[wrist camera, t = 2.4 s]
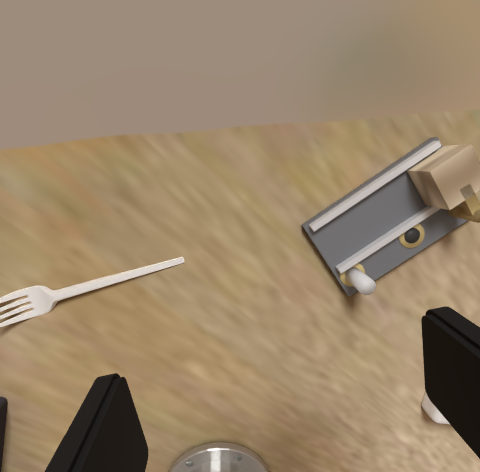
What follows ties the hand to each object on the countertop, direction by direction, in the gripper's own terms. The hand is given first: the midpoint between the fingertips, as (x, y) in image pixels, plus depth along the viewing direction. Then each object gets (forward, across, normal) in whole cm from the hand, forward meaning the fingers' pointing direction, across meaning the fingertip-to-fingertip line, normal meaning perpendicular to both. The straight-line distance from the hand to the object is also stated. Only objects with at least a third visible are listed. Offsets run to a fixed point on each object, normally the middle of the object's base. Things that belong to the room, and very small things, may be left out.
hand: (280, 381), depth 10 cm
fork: (+24, +16, +3) cm, 29 cm away
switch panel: (+23, -15, +2) cm, 28 cm away
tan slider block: (+22, -20, 0) cm, 30 cm away
